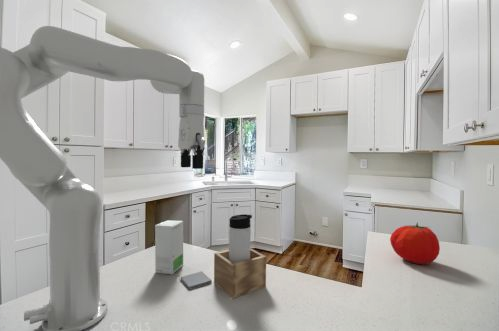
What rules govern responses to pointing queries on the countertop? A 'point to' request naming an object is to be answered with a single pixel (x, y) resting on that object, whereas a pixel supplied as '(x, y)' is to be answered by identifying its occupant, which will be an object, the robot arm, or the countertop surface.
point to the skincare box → (168, 246)
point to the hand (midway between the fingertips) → (191, 167)
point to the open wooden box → (239, 273)
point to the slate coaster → (195, 280)
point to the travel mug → (239, 238)
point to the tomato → (415, 244)
